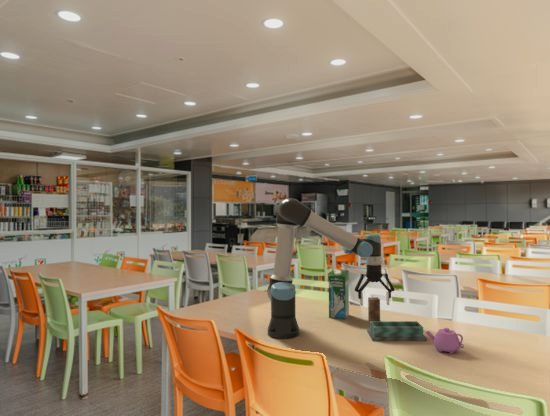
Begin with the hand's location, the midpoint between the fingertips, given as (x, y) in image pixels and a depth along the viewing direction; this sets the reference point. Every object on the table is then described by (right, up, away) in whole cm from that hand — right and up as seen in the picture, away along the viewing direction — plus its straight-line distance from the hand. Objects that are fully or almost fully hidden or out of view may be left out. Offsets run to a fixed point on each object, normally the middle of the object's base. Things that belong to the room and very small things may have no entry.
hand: (374, 304), depth 213 cm
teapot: (+19, -9, -42) cm, 47 cm away
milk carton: (-17, -9, +11) cm, 22 cm away
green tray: (+4, -9, -24) cm, 26 cm away
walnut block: (0, -9, 0) cm, 9 cm away
